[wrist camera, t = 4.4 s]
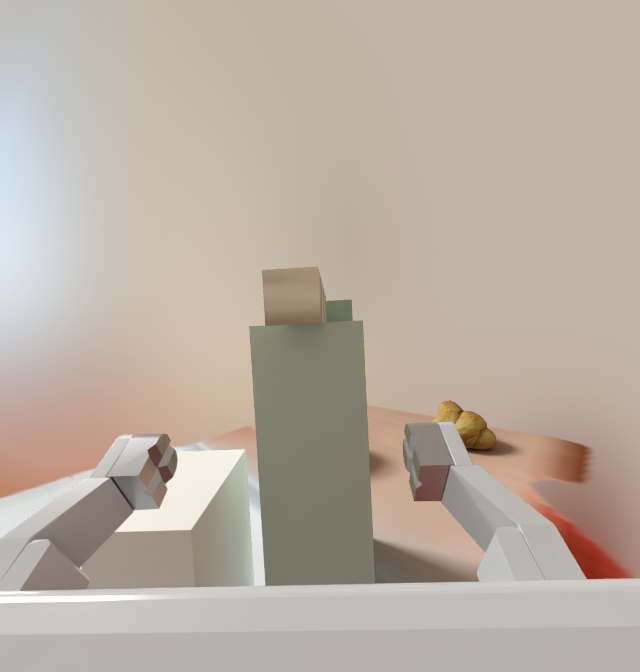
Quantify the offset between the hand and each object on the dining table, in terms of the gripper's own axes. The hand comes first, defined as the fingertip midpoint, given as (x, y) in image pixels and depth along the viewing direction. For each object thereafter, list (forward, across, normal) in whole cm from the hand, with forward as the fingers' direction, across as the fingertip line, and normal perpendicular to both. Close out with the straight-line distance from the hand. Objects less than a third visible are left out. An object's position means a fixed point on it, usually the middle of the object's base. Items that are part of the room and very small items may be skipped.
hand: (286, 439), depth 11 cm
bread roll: (+37, +28, -48) cm, 67 cm away
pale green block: (+7, 0, -31) cm, 31 cm away
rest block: (0, -11, -27) cm, 29 cm away
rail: (+16, 0, -5) cm, 17 cm away
